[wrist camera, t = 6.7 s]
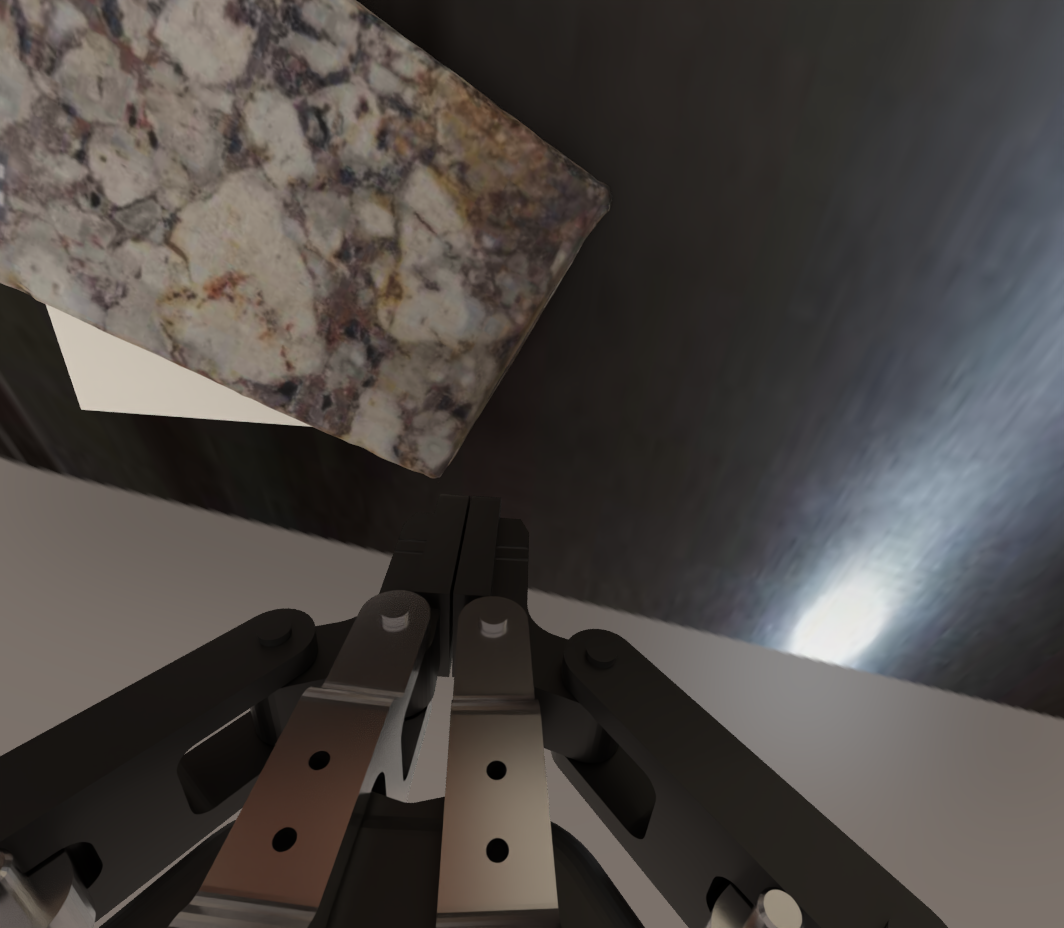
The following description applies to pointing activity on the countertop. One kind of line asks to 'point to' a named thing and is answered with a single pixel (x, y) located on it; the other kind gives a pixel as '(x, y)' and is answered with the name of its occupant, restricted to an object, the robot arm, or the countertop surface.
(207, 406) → the mat
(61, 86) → the stone block
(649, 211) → the countertop surface
